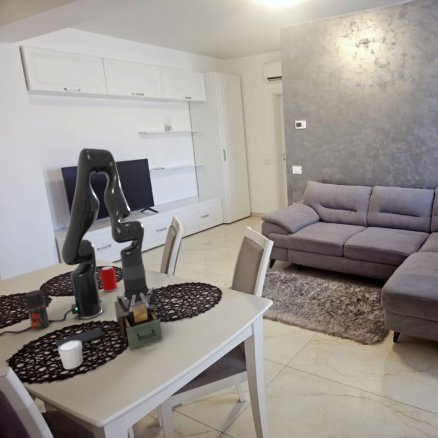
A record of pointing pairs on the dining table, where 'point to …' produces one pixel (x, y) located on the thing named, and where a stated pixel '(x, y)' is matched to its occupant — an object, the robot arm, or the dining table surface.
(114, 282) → the beverage can
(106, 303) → the dining table surface
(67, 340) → the phone
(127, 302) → the cabinet
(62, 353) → the white cup
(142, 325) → the drawer
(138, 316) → the block
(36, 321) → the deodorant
